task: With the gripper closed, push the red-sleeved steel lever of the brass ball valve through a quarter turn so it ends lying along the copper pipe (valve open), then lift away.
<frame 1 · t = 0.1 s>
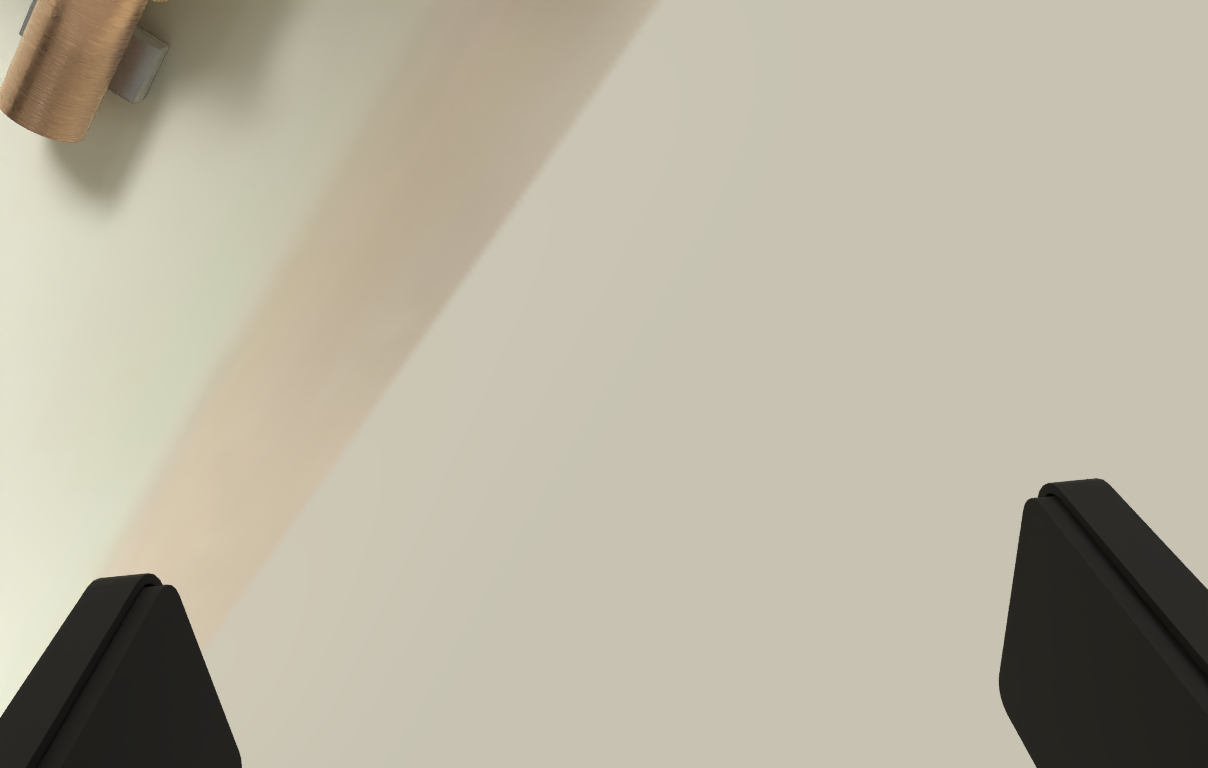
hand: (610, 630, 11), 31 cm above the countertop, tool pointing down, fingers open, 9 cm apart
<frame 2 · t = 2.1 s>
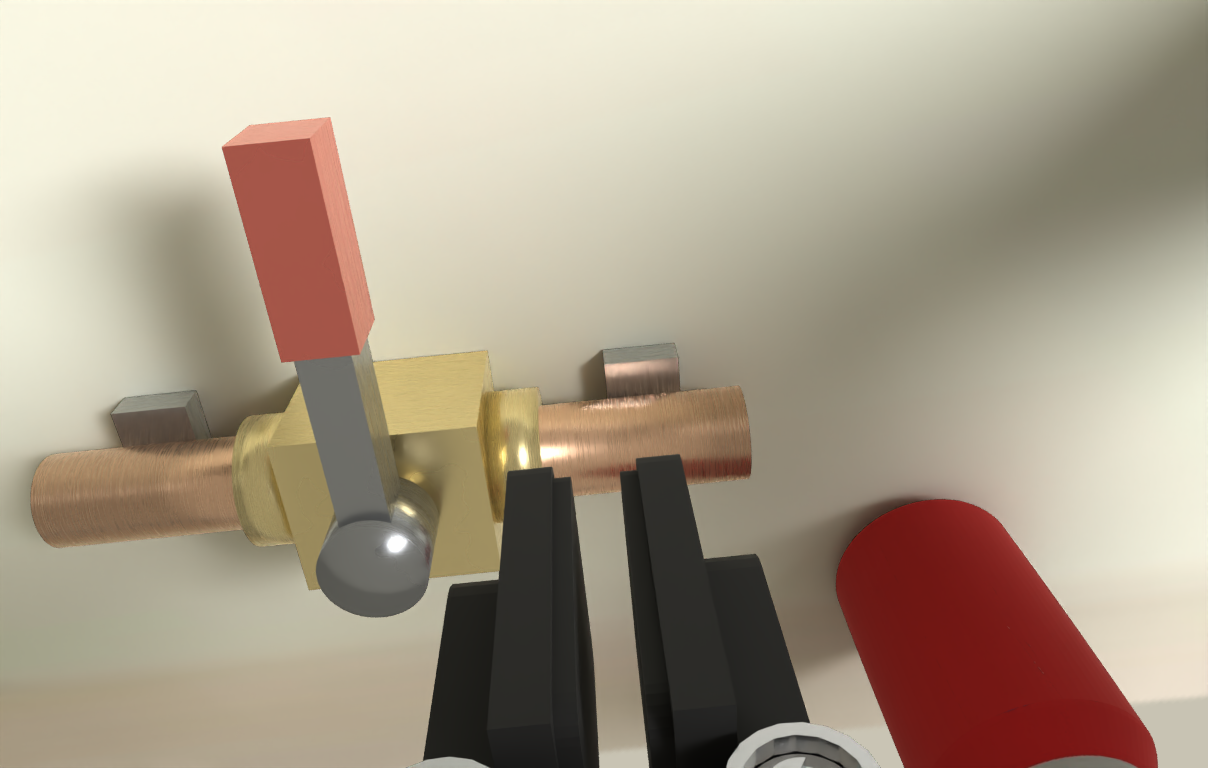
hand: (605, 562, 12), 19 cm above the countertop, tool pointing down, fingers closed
pipework: (411, 427, 32), on the countertop
lever: (341, 387, 24), point 7 cm above the countertop, hinge at 0.0°
beverage can: (914, 555, 36), on the countertop
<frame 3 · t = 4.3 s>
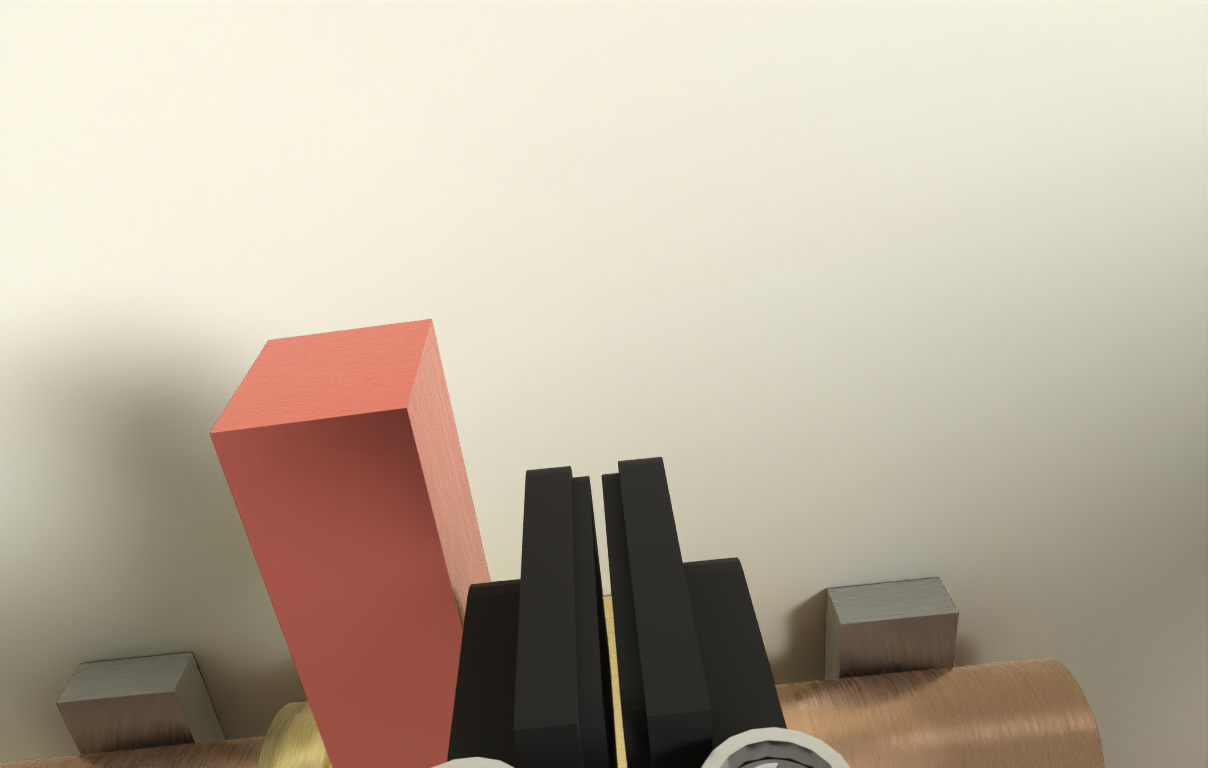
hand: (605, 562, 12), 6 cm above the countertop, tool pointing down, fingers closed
pipework: (523, 695, 21), on the countertop
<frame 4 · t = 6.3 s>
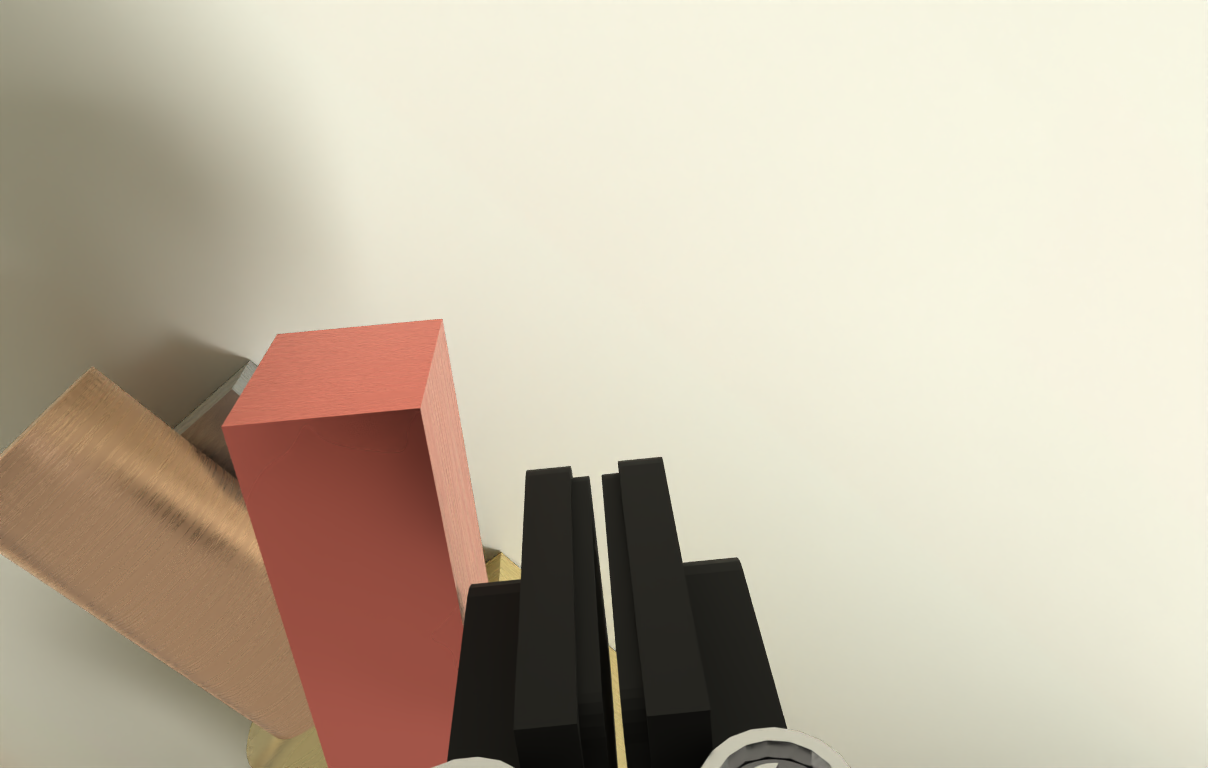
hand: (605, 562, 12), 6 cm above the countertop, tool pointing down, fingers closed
pipework: (507, 694, 21), on the countertop
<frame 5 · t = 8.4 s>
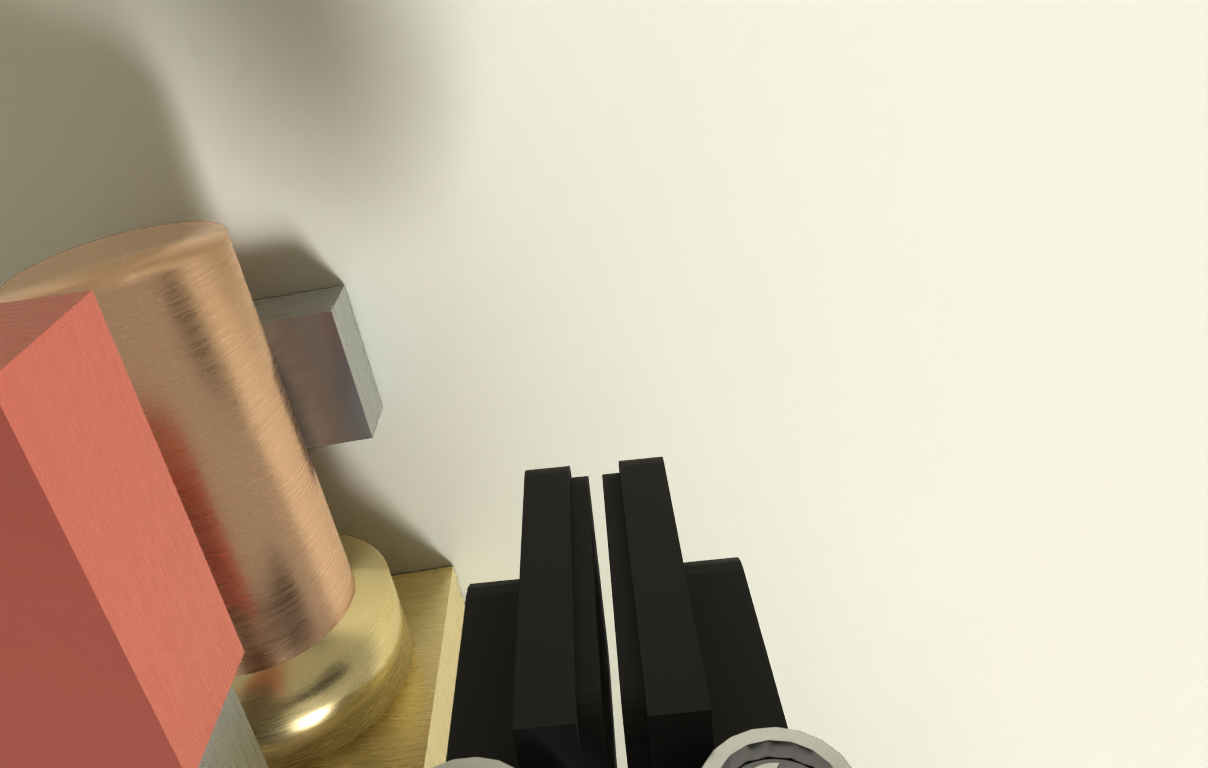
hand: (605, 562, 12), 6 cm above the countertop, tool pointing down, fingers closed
pipework: (367, 693, 20), on the countertop
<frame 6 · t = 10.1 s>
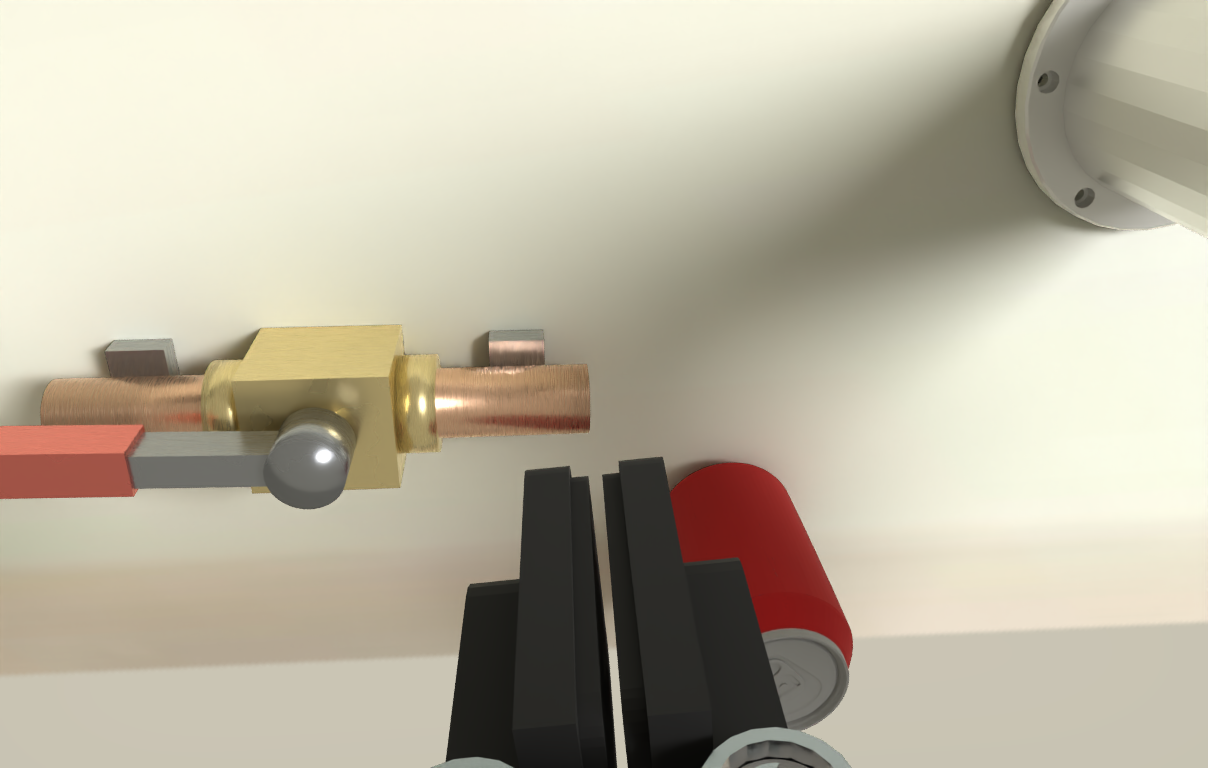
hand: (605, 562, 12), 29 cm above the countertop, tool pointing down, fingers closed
pipework: (338, 379, 42), on the countertop
lever: (175, 459, 36), point 7 cm above the countertop, hinge at 88.5°
beverage can: (721, 507, 48), on the countertop
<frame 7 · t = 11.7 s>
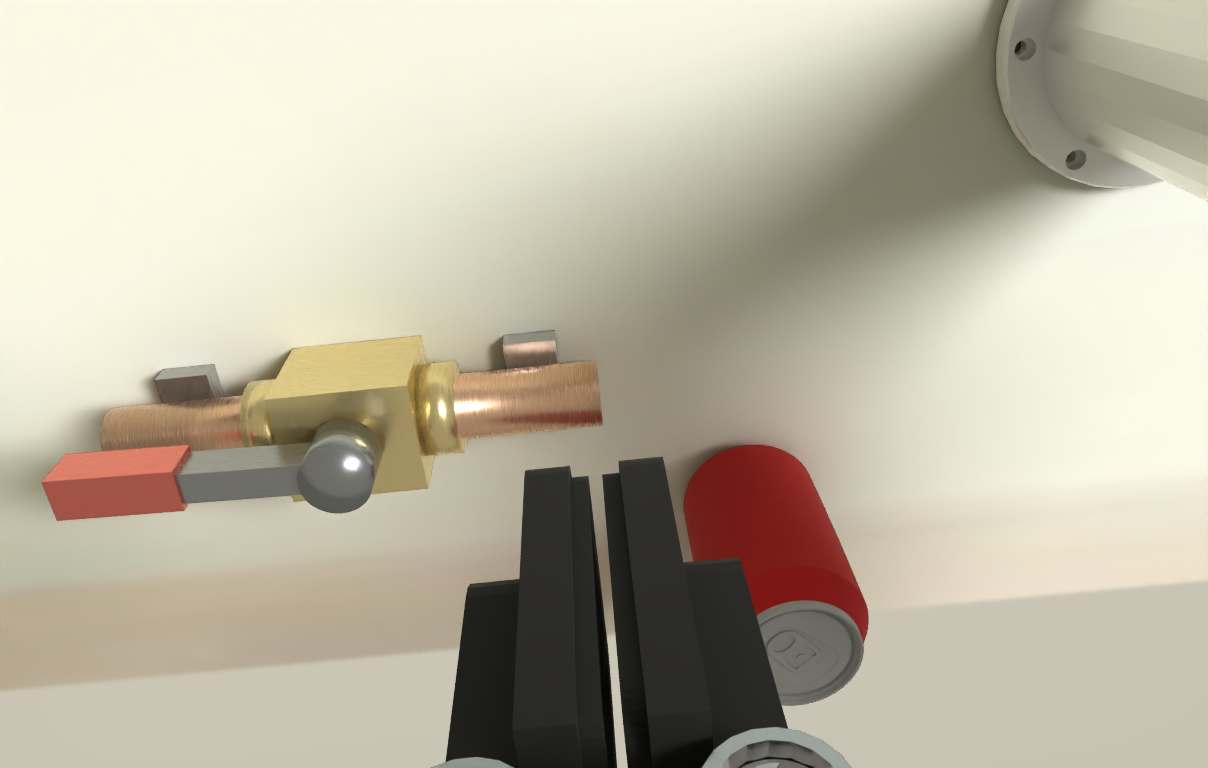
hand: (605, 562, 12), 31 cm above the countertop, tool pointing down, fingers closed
pipework: (368, 391, 45), on the countertop
lever: (219, 474, 39), point 7 cm above the countertop, hinge at 88.5°
beverage can: (744, 489, 49), on the countertop
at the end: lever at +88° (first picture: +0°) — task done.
